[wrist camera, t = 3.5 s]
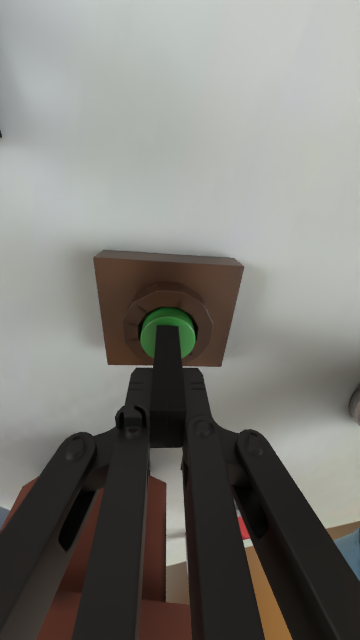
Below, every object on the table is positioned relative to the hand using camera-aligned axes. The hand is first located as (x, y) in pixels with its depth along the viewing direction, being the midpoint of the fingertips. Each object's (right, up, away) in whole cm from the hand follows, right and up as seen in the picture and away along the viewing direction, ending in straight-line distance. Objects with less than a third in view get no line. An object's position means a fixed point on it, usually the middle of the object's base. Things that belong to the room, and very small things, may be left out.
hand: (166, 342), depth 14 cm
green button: (0, +1, +2) cm, 2 cm away
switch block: (0, +3, +5) cm, 6 cm away
